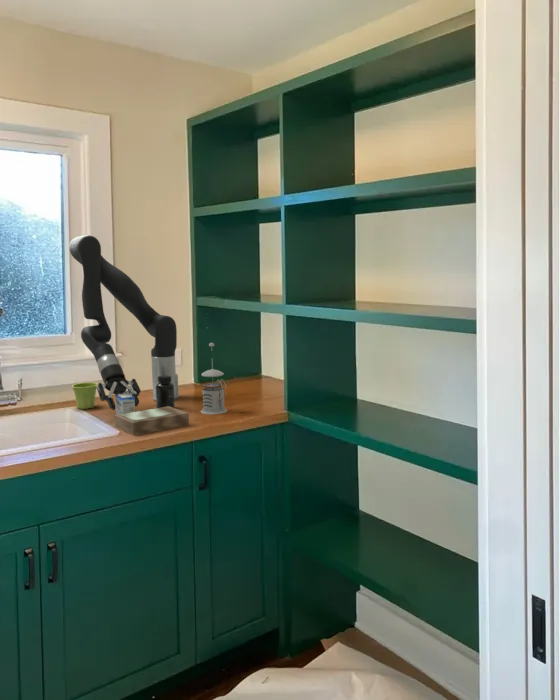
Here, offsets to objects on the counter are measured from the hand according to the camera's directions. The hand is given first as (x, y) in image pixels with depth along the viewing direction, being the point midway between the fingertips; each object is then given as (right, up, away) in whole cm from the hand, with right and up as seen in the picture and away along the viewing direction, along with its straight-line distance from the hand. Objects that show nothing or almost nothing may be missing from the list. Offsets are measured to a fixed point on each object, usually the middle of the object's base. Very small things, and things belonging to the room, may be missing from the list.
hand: (125, 406), depth 226 cm
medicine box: (0, -5, +1) cm, 5 cm away
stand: (+11, -6, -8) cm, 15 cm away
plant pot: (-20, -2, +22) cm, 30 cm away
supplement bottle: (+11, -2, +18) cm, 21 cm away
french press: (+30, -3, +11) cm, 32 cm away
